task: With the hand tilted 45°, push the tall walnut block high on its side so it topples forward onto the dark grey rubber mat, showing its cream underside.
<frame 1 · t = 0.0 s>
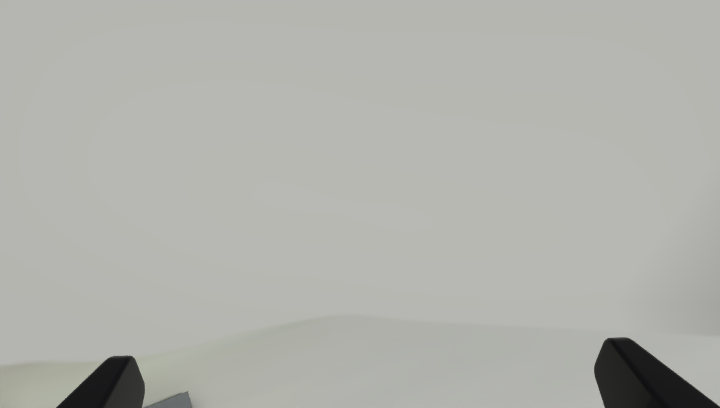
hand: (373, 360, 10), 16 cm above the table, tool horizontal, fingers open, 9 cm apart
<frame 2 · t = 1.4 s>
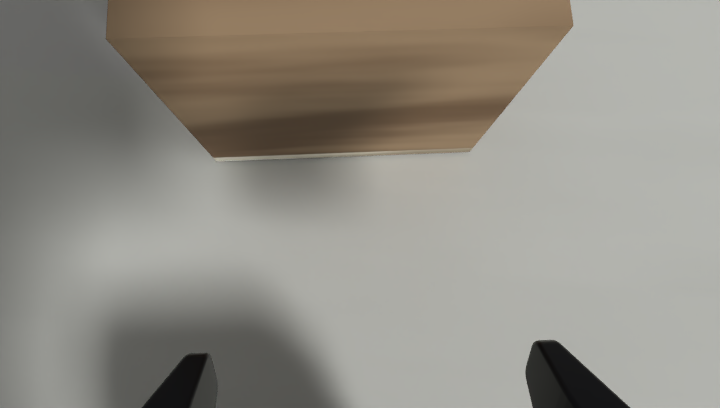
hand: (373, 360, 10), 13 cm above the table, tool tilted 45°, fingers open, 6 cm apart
walnut block: (342, 116, 24), on the table
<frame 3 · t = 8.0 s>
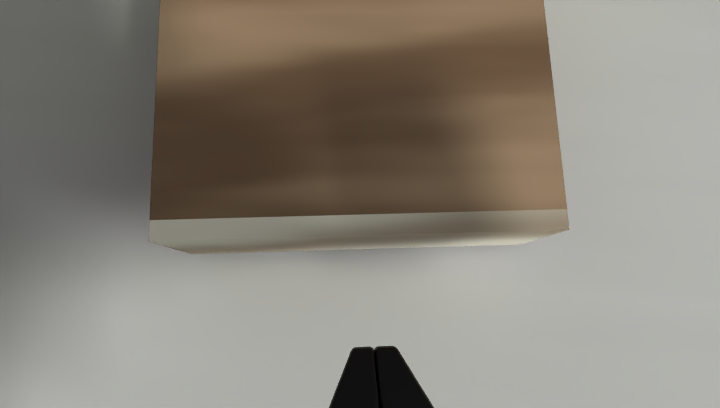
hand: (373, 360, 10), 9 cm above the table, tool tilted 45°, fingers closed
walnut block: (359, 243, 16), point 2 cm above the table, tilted 90°, touching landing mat
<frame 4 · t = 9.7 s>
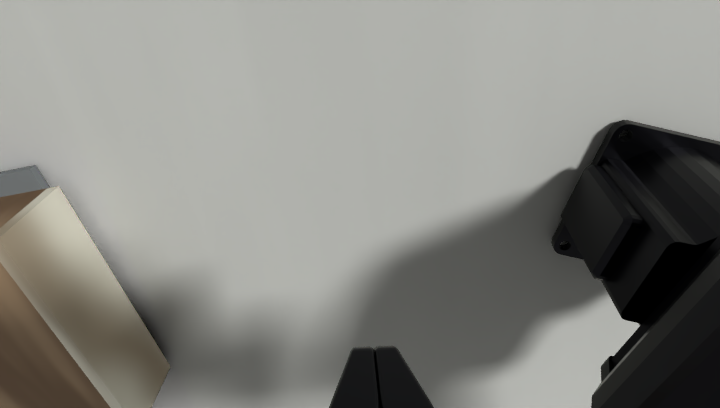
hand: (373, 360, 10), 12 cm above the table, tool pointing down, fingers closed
walnut block: (101, 315, 23), point 2 cm above the table, tilted 90°, touching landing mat
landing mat: (18, 297, 26), on the table
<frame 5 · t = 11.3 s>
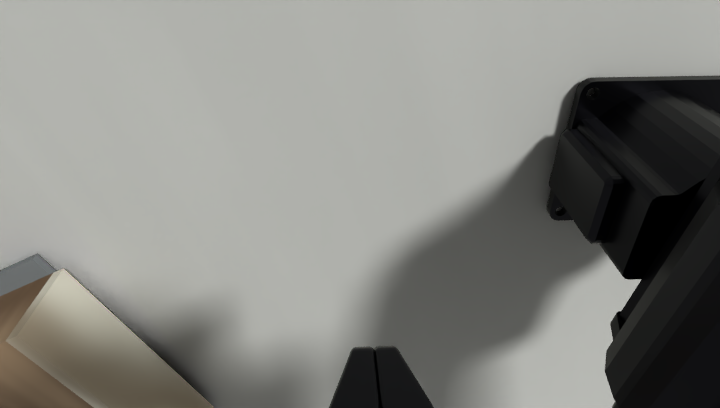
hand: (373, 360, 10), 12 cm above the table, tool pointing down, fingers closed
walnut block: (135, 378, 24), point 2 cm above the table, tilted 90°, touching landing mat
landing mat: (56, 376, 27), on the table
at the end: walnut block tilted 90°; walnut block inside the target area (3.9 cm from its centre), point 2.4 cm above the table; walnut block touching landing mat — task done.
